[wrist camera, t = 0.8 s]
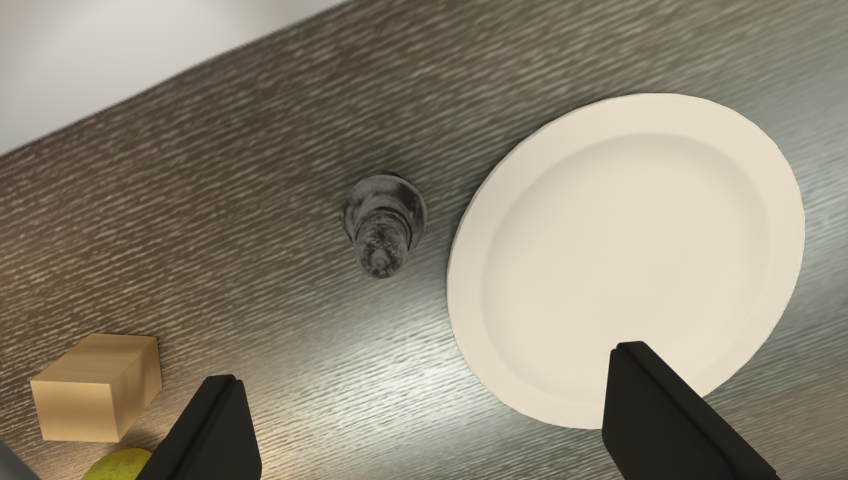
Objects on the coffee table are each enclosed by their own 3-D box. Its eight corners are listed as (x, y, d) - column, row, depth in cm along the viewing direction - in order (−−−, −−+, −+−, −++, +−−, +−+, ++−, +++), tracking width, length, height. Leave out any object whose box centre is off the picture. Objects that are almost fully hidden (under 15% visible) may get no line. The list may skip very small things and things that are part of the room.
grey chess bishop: (339, 233, 32) (308, 308, 21) (354, 157, 30) (329, 193, 19) (414, 249, 33) (423, 329, 21) (433, 176, 31) (454, 222, 20)
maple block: (91, 332, 33) (29, 380, 28) (157, 336, 34) (109, 384, 28) (100, 384, 35) (42, 440, 29) (162, 387, 35) (118, 443, 30)
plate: (849, 179, 33) (882, 185, 31) (659, 443, 41) (674, 462, 39) (543, 25, 28) (555, 19, 26) (392, 358, 36) (391, 376, 34)
